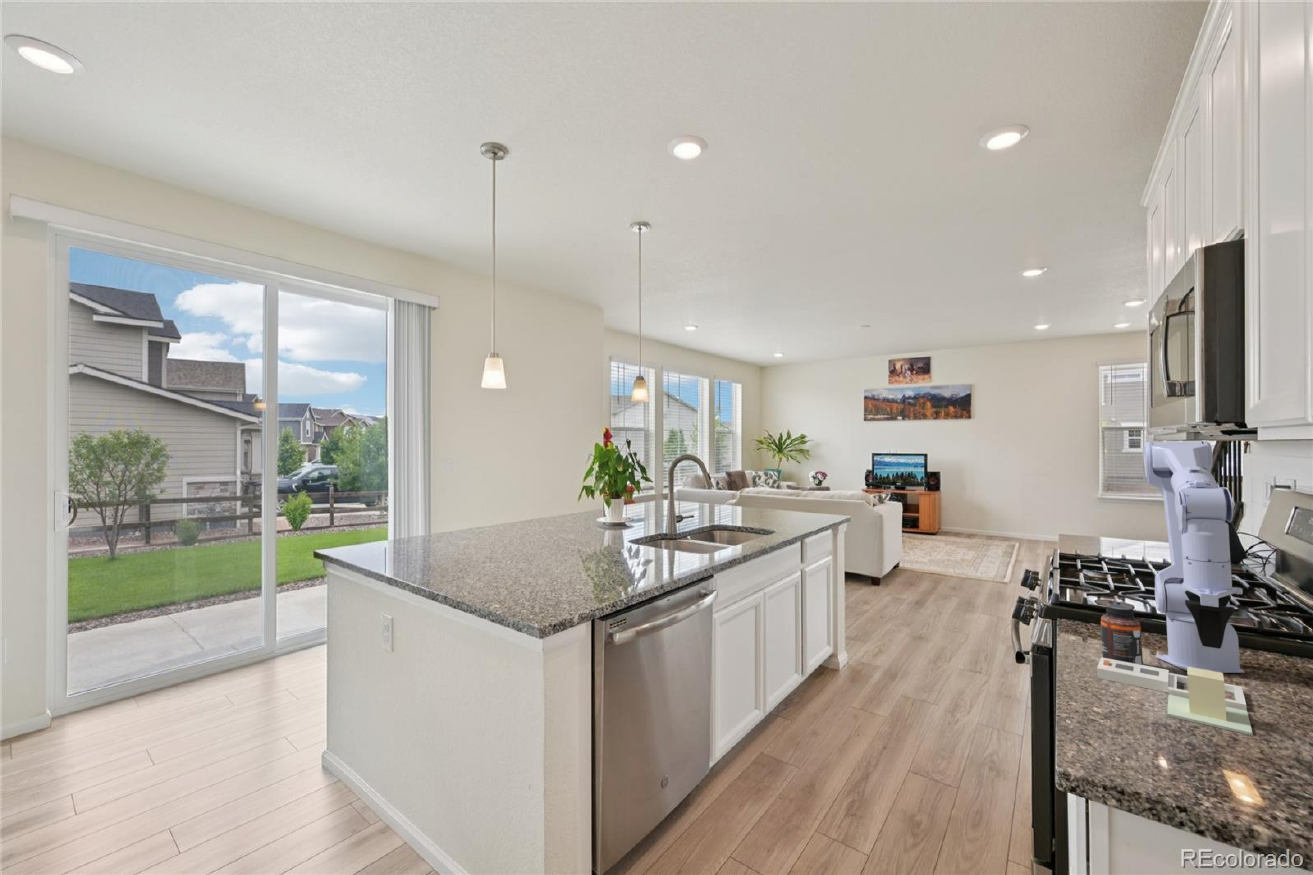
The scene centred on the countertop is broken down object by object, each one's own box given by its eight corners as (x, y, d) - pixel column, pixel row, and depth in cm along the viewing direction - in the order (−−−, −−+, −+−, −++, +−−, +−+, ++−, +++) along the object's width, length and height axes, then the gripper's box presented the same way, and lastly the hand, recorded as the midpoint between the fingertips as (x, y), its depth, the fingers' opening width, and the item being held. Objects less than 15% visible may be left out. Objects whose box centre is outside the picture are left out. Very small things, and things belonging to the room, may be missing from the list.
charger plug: (1224, 711, 85) (1222, 672, 85) (1226, 721, 82) (1224, 680, 82) (1189, 704, 88) (1187, 666, 88) (1189, 712, 85) (1187, 674, 85)
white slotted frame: (1242, 692, 92) (1241, 679, 92) (1246, 711, 86) (1245, 697, 86) (1102, 665, 105) (1101, 653, 105) (1096, 679, 99) (1096, 667, 99)
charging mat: (1168, 696, 91) (1168, 694, 91) (1247, 713, 85) (1247, 711, 85) (1167, 715, 85) (1167, 713, 85) (1252, 735, 79) (1252, 732, 79)
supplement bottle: (1151, 672, 101) (1148, 611, 102) (1114, 670, 103) (1111, 610, 103) (1130, 660, 107) (1127, 602, 108) (1095, 658, 108) (1093, 601, 109)
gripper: (1244, 569, 83) (1249, 658, 83) (1237, 555, 94) (1242, 634, 93) (1180, 563, 88) (1185, 648, 88) (1180, 551, 99) (1184, 626, 98)
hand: (1210, 640), depth 91 cm, fingers open, 7 cm apart
